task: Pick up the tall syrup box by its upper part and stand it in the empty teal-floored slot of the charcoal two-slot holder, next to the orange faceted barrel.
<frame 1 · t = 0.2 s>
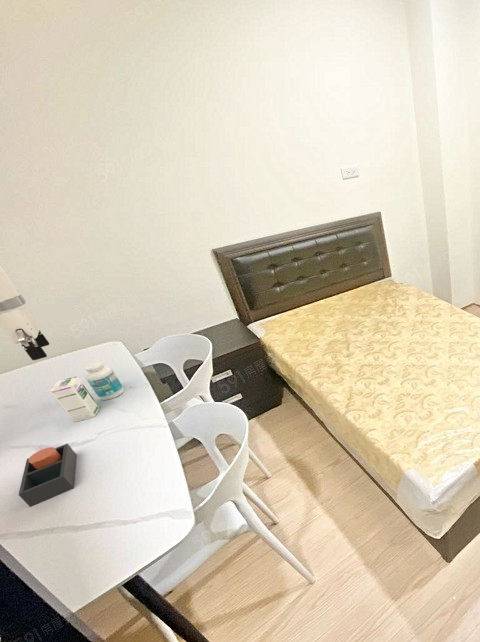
hand: (41, 352, 125), 28 cm above the table, tool pointing down, fingers open, 9 cm apart
pill bottle: (113, 395, 151), on the table
orange faceted barrel: (56, 471, 118), point 1 cm above the table, touching holder
holder: (56, 481, 116), on the table
syrup box: (87, 415, 141), on the table
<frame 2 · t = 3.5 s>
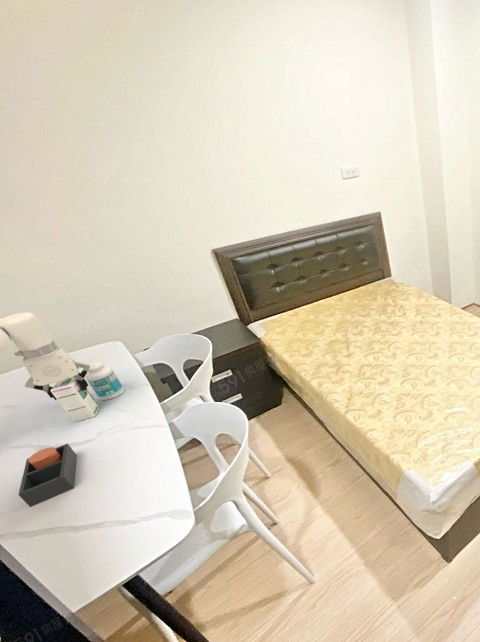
hand: (71, 392, 136), 10 cm above the table, tool pointing down, fingers closed on syrup box, 6 cm apart
syrup box: (87, 415, 141), on the table, touching gripper
everything else where it was.
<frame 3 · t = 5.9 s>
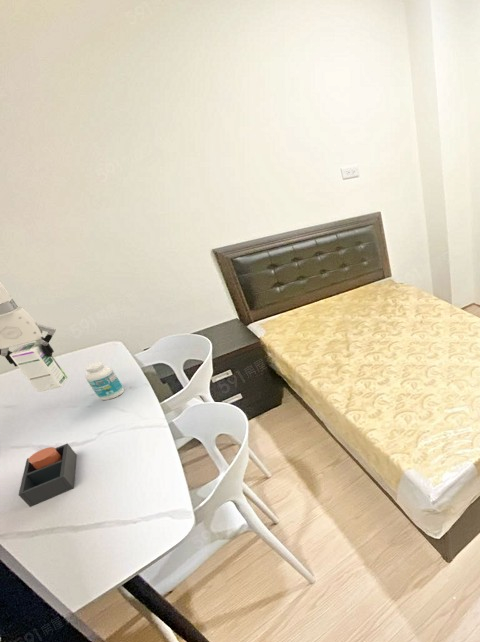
hand: (34, 359, 123), 27 cm above the table, tool pointing down, fingers closed on syrup box, 6 cm apart
syrup box: (53, 385, 128), point 17 cm above the table, touching gripper
everything else where it was.
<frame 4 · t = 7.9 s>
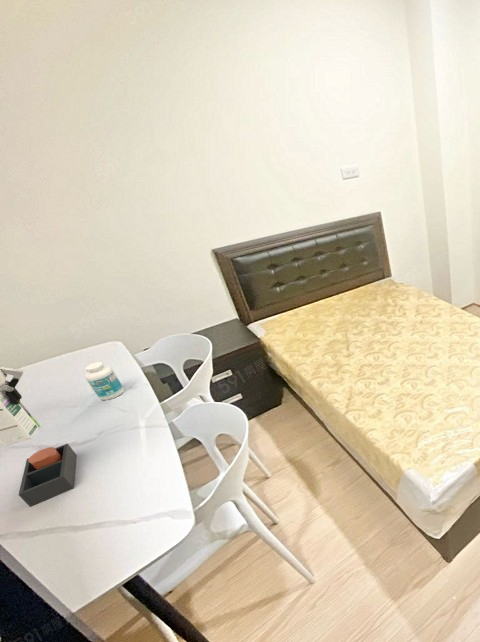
syrup box: (22, 436, 108), point 17 cm above the table, touching gripper
everything else where it was.
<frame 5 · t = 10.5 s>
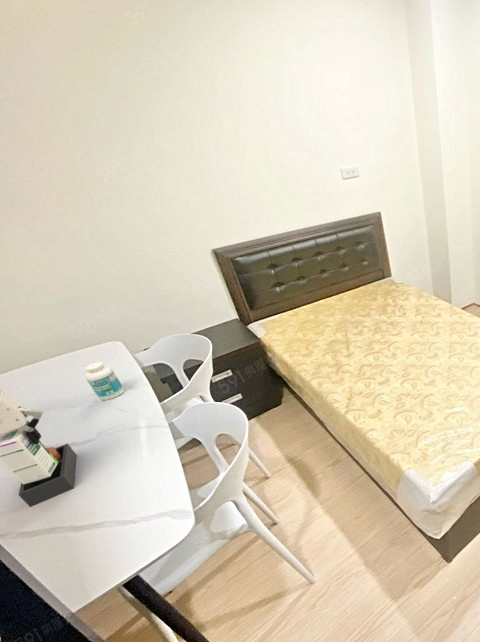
hand: (18, 447, 105), 17 cm above the table, tool pointing down, fingers closed on syrup box, 6 cm apart
syrup box: (41, 474, 110), point 6 cm above the table, touching gripper
everything else where it was.
when the fingers open (11 cm above the table, at t = 12.4 s): syrup box stays where it is, resting on holder.
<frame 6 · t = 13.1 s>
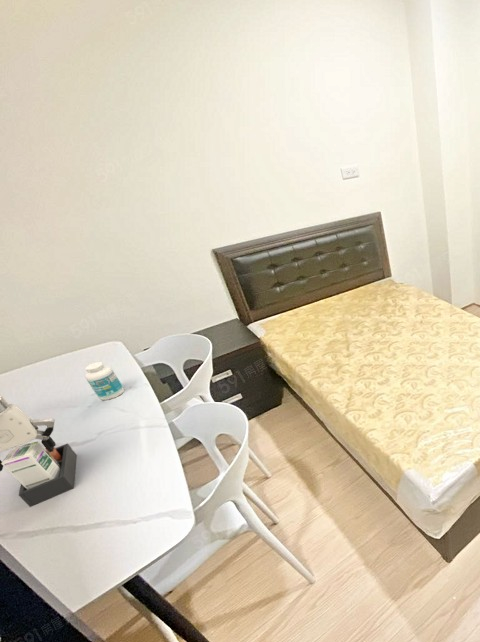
hand: (27, 458, 107), 13 cm above the table, tool pointing down, fingers open, 9 cm apart
syrup box: (53, 487, 113), point 1 cm above the table, touching holder
everything else where it was.
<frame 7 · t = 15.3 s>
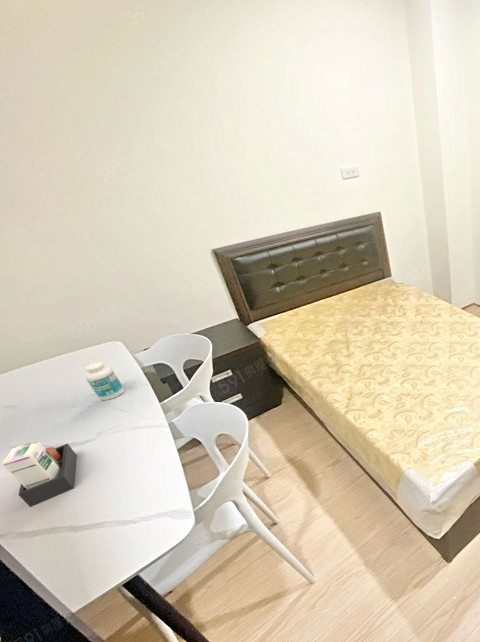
nothing on the table moved.
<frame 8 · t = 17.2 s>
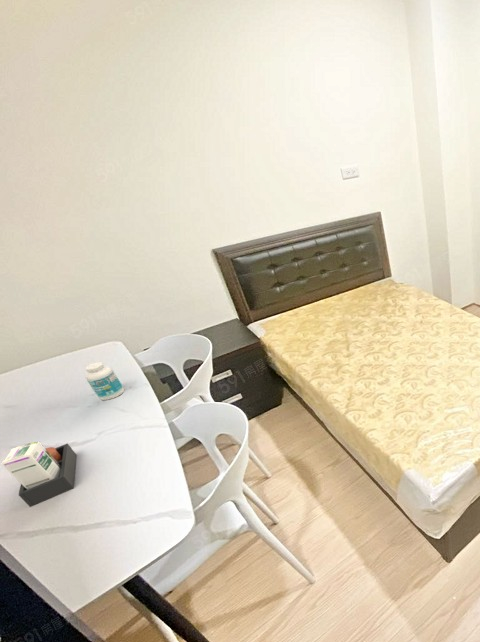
nothing on the table moved.
at the end: syrup box 0.1 cm from the target spot in the holder, point 0.8 cm above the holder's base; syrup box tilted 0°; the gripper is holding nothing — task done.
